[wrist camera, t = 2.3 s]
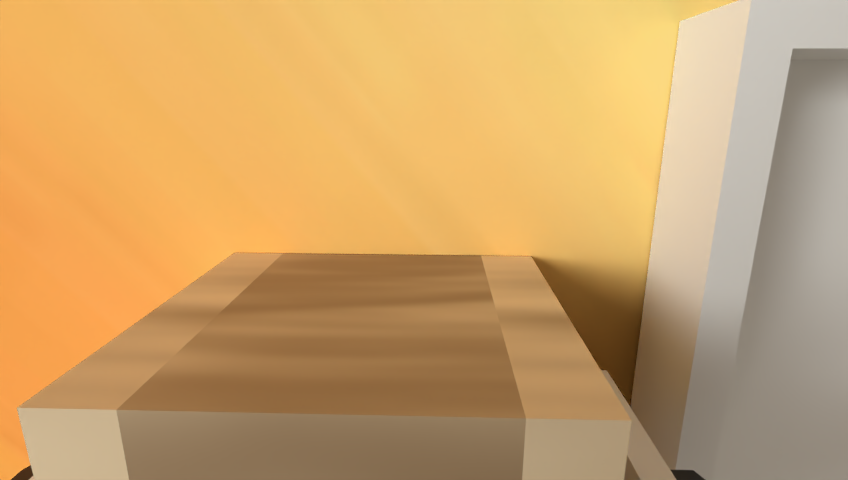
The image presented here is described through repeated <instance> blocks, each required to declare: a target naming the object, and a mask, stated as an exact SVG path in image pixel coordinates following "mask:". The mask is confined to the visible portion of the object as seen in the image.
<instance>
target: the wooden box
mask: <svg viewBox="0 0 848 480" xmlns="http://www.w3.org/2000/svg"><path fill="white" fill-rule="evenodd" d="M17 411H18V415H19V419H20V423H21V427H22V431H23V435H24V439H25V443H26V447H27V452H28V456H29V460H30V464H31V468H32V472H33V476H34V480H624V476H625V468H626V460H627V453H628V445H629V437H630V430H631V422H632V420H631V419H630V417H629V415H628V414H627V412H626V411H625V409H624V407H623V406H622V404H621V402H620V401H619V399H618V397H617V396H616V394H615V393H614V391H613V389H612V388H611V386H610V384H609V383H608V381H607V379H606V378H605V376H604V375H603V373H602V371H601V370H600V368H599V366H598V365H597V363H596V361H595V360H594V358H593V357H592V355H591V353H590V352H589V350H588V348H587V347H586V345H585V343H584V342H583V340H582V339H581V337H580V335H579V334H578V332H577V330H576V329H575V327H574V326H573V324H572V322H571V321H570V319H569V317H568V316H567V314H566V312H565V311H564V309H563V308H562V306H561V304H560V303H559V301H558V299H557V298H556V296H555V294H554V293H553V291H552V290H551V288H550V286H549V285H548V283H547V281H546V280H545V278H544V276H543V275H542V273H541V272H540V270H539V268H538V267H537V265H536V263H535V262H534V260H533V258H532V257H531V256H466V255H378V254H290V253H233V254H232V255H230V256H229V257H228V258H226V259H225V260H223V261H222V262H221V263H219V264H218V265H216V266H215V267H214V268H212V269H211V270H209V271H208V272H207V273H205V274H204V275H202V276H201V277H200V278H198V279H197V280H195V281H194V282H193V283H191V284H190V285H188V286H187V287H186V288H184V289H183V290H181V291H180V292H179V293H177V294H176V295H174V296H173V297H172V298H170V299H169V300H167V301H166V302H165V303H163V304H162V305H160V306H159V307H158V308H156V309H155V310H153V311H152V312H151V313H149V314H148V315H146V316H145V317H144V318H142V319H141V320H139V321H138V322H137V323H135V324H134V325H132V326H131V327H130V328H128V329H127V330H125V331H124V332H123V333H121V334H120V335H118V336H117V337H115V338H114V339H113V340H111V341H110V342H108V343H107V344H106V345H104V346H103V347H101V348H100V349H99V350H97V351H96V352H94V353H93V354H92V355H90V356H89V357H87V358H86V359H85V360H83V361H82V362H80V363H79V364H78V365H76V366H75V367H73V368H72V369H71V370H69V371H68V372H66V373H65V374H64V375H62V376H61V377H59V378H58V379H57V380H55V381H54V382H52V383H51V384H50V385H48V386H47V387H45V388H44V389H43V390H41V391H40V392H38V393H37V394H36V395H34V396H33V397H31V398H30V399H29V400H27V401H26V402H24V403H23V404H22V405H20V406H19V407H17Z"/></svg>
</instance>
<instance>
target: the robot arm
mask: <svg viewBox="0 0 848 480" xmlns="http://www.w3.org/2000/svg"><path fill="white" fill-rule="evenodd" d="M601 371H602V373H603V375H604V376H605V378H606V379H607V381H608V383H609V384H610V386H611V388H612V389H613V391H614V393H615V394H616V396H617V397H618V399H619V401H620V402H621V404H622V406H623V407H624V409H625V411H626V412H627V414H628V415H629V417H630V419H631V420H632V422H631V430H630V437H629V445H628V453H627V460H626V468H625V476H624V480H705V479H704V478H703V477H701V476H700V475H699V474H698V473H696V472H695V471H694V470H670V469H669V467H668V466H667V464H666V462H665V461H664V459H663V458H662V456H661V455H660V453H659V451H658V450H657V448H656V447H655V445H654V444H653V442H652V440H651V439H650V437H649V436H648V434H647V433H646V431H645V429H644V428H643V426H642V425H641V423H640V422H639V420H638V418H637V417H636V415H635V414H634V412H633V411H632V409H631V407H630V406H629V404H628V403H627V401H626V400H625V398H624V396H623V395H622V393H621V392H620V390H619V389H618V387H617V385H616V384H615V382H614V381H613V379H612V378H611V376H610V374H609V373H608V371H607V370H601ZM11 480H34V476H33V472H32V468H31V465H30V466H29V467H27V468H25V469H23V470H22V471H20V472H19V473H18V474H17V475H16V476H15V477H14V478H12V479H11Z"/></svg>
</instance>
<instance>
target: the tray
mask: <svg viewBox="0 0 848 480" xmlns="http://www.w3.org/2000/svg"><path fill="white" fill-rule="evenodd" d="M630 407H631V409H632V411H633V412H634V414H635V415H636V417H637V418H638V420H639V422H640V423H641V425H642V426H643V428H644V429H645V431H646V433H647V434H648V436H649V437H650V439H651V440H652V442H653V444H654V445H655V447H656V448H657V450H658V451H659V453H660V455H661V456H662V458H663V459H664V461H665V462H666V464H667V466H668V467H669V469H670V470H694V471H695V472H696V473H698V474H699V475H700V476H701V477H703V478H704V479H705V480H848V0H739V1H736V2H733V3H730V4H727V5H724V6H722V7H719V8H716V9H713V10H710V11H708V12H705V13H702V14H699V15H696V16H693V17H691V18H688V19H685V20H682V21H680V24H679V32H678V40H677V47H676V55H675V63H674V71H673V79H672V86H671V94H670V102H669V110H668V118H667V125H666V133H665V141H664V149H663V157H662V164H661V172H660V180H659V188H658V196H657V203H656V211H655V219H654V227H653V234H652V242H651V250H650V258H649V266H648V273H647V281H646V289H645V297H644V305H643V312H642V320H641V328H640V336H639V344H638V351H637V359H636V367H635V375H634V383H633V390H632V398H631V406H630Z"/></svg>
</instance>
